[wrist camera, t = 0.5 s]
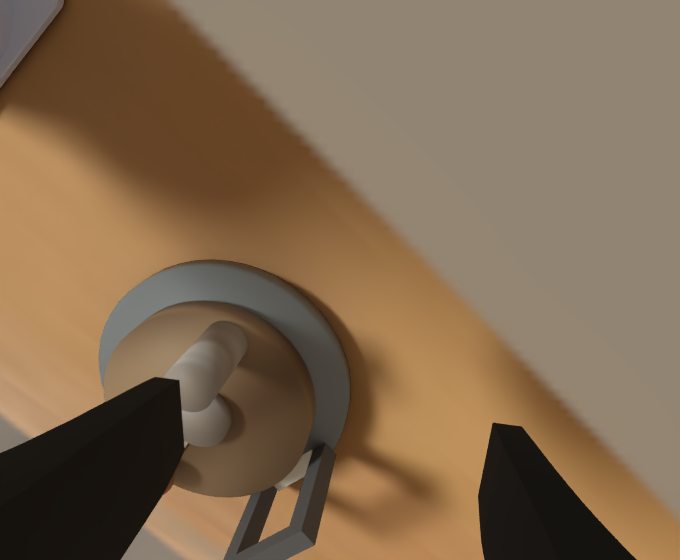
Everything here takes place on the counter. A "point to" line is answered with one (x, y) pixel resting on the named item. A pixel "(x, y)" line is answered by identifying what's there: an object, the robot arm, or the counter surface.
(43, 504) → the robot arm
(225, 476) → the capstan disc
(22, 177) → the counter surface
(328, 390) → the disc
